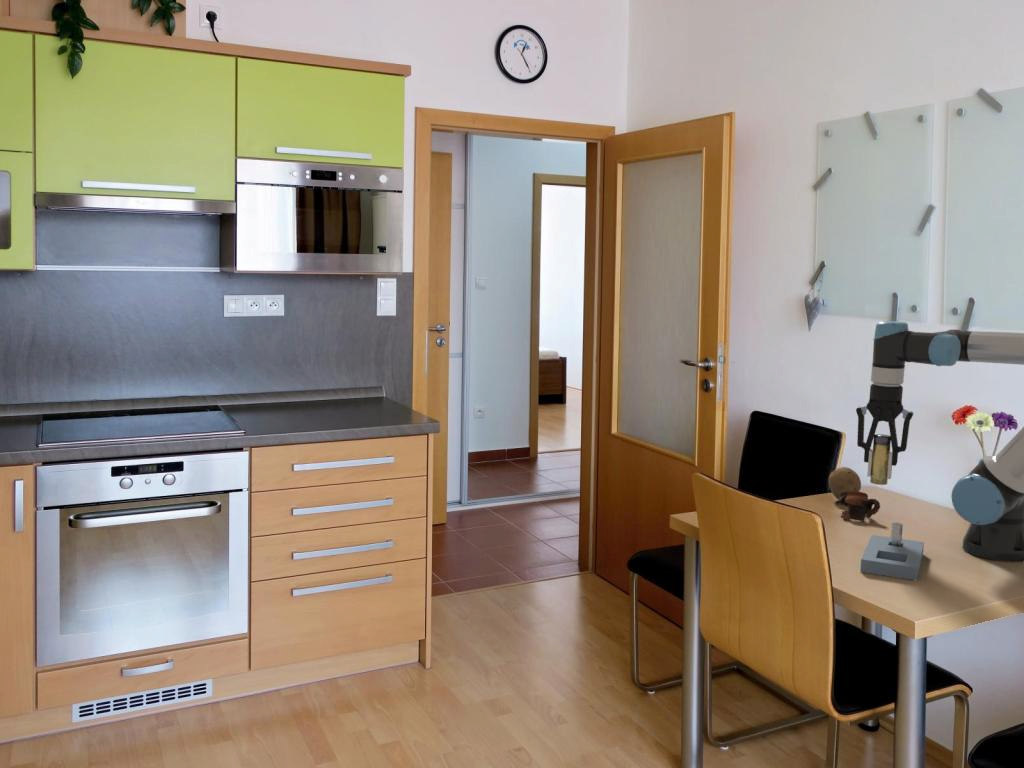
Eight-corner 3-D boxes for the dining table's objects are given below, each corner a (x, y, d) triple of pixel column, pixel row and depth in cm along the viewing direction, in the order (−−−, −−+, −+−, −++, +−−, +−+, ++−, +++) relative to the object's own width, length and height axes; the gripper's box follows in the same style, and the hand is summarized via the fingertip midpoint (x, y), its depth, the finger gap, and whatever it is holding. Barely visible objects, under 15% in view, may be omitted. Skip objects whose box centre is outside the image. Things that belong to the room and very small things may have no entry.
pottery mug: (830, 519, 271) (831, 490, 274) (845, 528, 278) (845, 500, 281) (874, 517, 263) (874, 487, 266) (888, 526, 270) (888, 497, 273)
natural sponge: (843, 495, 295) (845, 462, 294) (866, 503, 288) (869, 469, 286) (820, 498, 291) (823, 465, 290) (843, 506, 283) (846, 472, 282)
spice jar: (888, 482, 250) (891, 435, 248) (886, 485, 246) (890, 437, 244) (871, 480, 251) (875, 433, 250) (869, 483, 248) (873, 436, 246)
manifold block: (923, 554, 241) (924, 542, 240) (916, 580, 221) (918, 567, 221) (870, 546, 246) (871, 534, 245) (860, 571, 226) (861, 559, 226)
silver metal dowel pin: (900, 555, 239) (903, 523, 238) (899, 558, 237) (902, 526, 236) (889, 554, 240) (892, 522, 239) (888, 556, 238) (891, 524, 237)
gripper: (925, 385, 245) (916, 478, 248) (852, 379, 252) (845, 469, 255) (922, 389, 238) (914, 484, 241) (848, 382, 245) (841, 475, 249)
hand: (879, 476), depth 248 cm, fingers closed on spice jar, 4 cm apart
